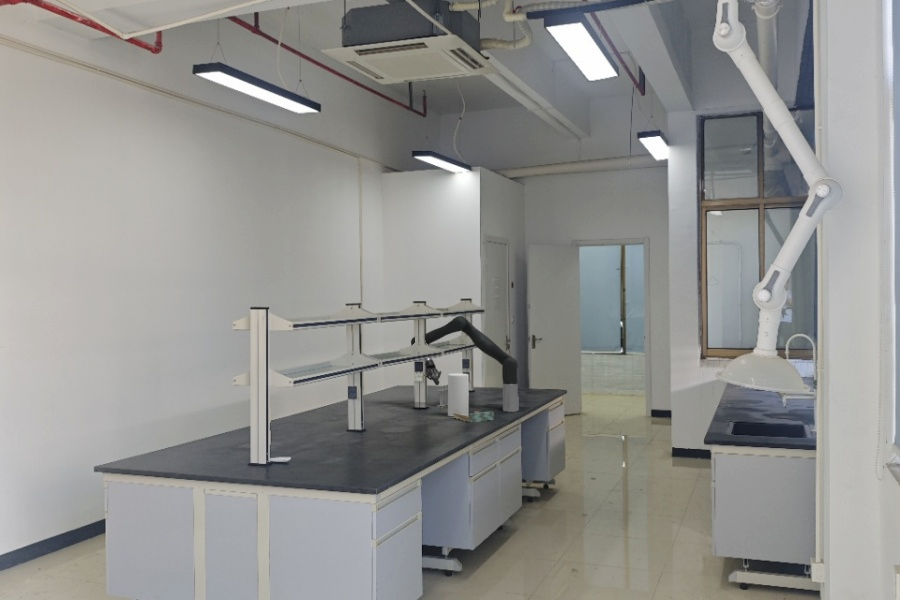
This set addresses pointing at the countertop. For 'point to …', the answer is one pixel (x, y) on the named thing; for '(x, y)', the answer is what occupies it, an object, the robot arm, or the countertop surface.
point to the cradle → (476, 416)
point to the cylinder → (458, 394)
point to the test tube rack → (443, 395)
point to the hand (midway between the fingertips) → (437, 384)
